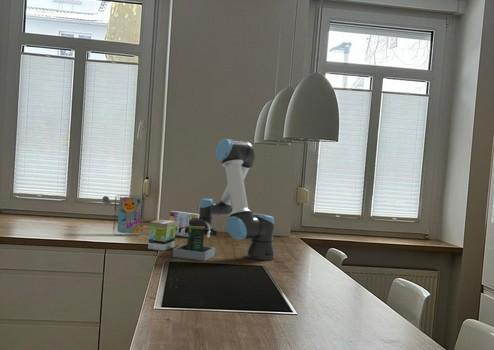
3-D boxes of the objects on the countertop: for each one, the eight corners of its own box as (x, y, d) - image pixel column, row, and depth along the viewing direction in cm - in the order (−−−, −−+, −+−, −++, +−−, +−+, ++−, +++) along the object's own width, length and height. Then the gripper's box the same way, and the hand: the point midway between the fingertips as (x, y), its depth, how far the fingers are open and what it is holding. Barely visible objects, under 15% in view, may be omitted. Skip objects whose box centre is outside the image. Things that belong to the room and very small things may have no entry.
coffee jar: (204, 255, 262) (206, 219, 262) (188, 255, 260) (191, 219, 259) (199, 252, 272) (202, 217, 271) (185, 251, 269) (187, 216, 268)
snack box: (200, 237, 327) (202, 214, 327) (195, 238, 322) (197, 214, 322) (172, 233, 336) (173, 210, 335) (167, 234, 331) (169, 210, 330)
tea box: (165, 251, 273) (167, 223, 272) (147, 249, 275) (149, 221, 274) (174, 246, 287) (176, 220, 287) (157, 244, 289) (159, 218, 289)
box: (100, 235, 305) (103, 194, 304) (99, 234, 311) (101, 193, 310) (142, 236, 315) (145, 196, 314) (140, 234, 320) (143, 195, 320)
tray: (215, 255, 272) (215, 247, 272) (204, 260, 255) (204, 252, 255) (185, 251, 276) (185, 244, 276) (172, 256, 259) (173, 248, 259)
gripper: (223, 237, 282) (218, 243, 261) (179, 233, 284) (170, 238, 263) (224, 223, 282) (219, 228, 261) (180, 219, 284) (171, 224, 263)
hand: (194, 233), depth 262 cm, fingers open, 13 cm apart
